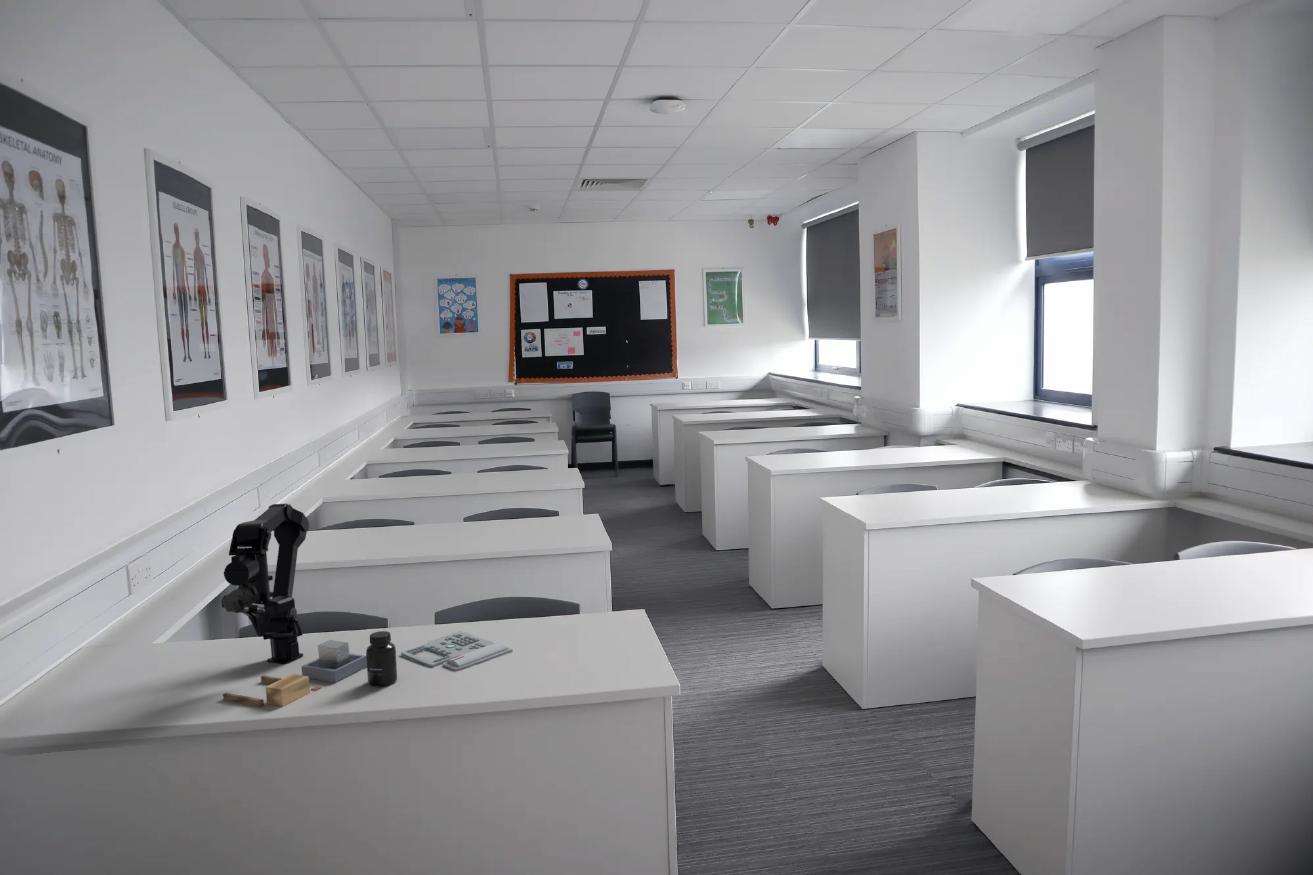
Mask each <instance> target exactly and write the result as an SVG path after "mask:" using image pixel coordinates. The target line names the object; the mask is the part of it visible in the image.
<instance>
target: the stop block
mask: <svg viewBox="0 0 1313 875" xmlns="http://www.w3.org/2000/svg"><path fill="white" fill-rule="evenodd" d="M317 651H318V658H319V664H320V668H326V669H333V670H336V669H338V668H340V667H342V666H344V665H346V664H348V663H350V659H349V653H350V648H349V642H346V641H339V640H333V639H329V640H327V641H325V642H322V643H320V644H318V645H317Z"/></svg>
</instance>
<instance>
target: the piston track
mask: <svg viewBox="0 0 1313 875" xmlns="http://www.w3.org/2000/svg"><path fill="white" fill-rule="evenodd" d="M281 679H283V678H281V677H275V676H268V675H264V674H263V675H262V676H260V682H261V684H262V683H263V684H264V683H265V684H268V685H270V684H272V683H275V682H277V681H279V680H281ZM321 689H322V687H321V686H314V687H313V688H310V691H314V690H315V691H316V692H317V691H320V690H321ZM222 697H223V698H222V699H223V701H227V702H233V703H239V704H242V705H243V704H244V705H249V706H253V707H254V706H255V707H260V708H262V707H264V706H265V703H264V700H265V699H263V698H258V697H252V696H247V695H246V696H245V695H241V694H236V693H229V692H224V693H222Z"/></svg>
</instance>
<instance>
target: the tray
mask: <svg viewBox="0 0 1313 875" xmlns="http://www.w3.org/2000/svg"><path fill="white" fill-rule="evenodd" d="M349 659H350V663H348V664H346V665H344V666H342V667H340V668H338V669H336V670H333V669H326V668H320V664H319V657H318V658H316V659H314V660H312V661H310V662H307V663H305V664H303V665H301V667H300V668H301V675H303V676H309V680H314V681H321V682H327V683H332V684H333V683H334V684H337V683H339V682H341V681H343V680H344V679H347V678H349V677H352V676H353V675H355V674H356V673H359V672H361V671H362V669H363V670H364V669H367V659H366V654H365V655H363V654H357V653H356V654H355V653H350V652H349ZM358 671H359V672H358Z"/></svg>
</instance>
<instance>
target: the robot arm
mask: <svg viewBox="0 0 1313 875" xmlns="http://www.w3.org/2000/svg"><path fill="white" fill-rule="evenodd" d="M309 528H310V522H309V519H308V517H307V516H306V514H304V512H302V511H300V510H297V509H295V508H294V507H292V505H291V504H289V503H273V504H270V505H269V506H268V508H267V509H266V510H265V511H263V512H262V513H261V514H260V515H259V516H258V517H256V518H254V520H253V519H252V520H249V521H244V522H241V523H238V524H237V525H236V526H235V529H233V532H232V537H231V540H230V541H231V542H230V546H229V550H228V551H229V552H228V556H231V557H230V559H231V560H230V561H231V562H230V563H228V564H227V565H226V566H225V567H224V571H223V577H224V579H225V581H226V582H227V583H228V584H230V585H232V586H237V588H236V589H234V590H233V591H231V592H229V593H228V594H225V595H223V597H222V598H221V608H225V611H226V612H228V613H230V612H232V613H235V614H238V613H241V614H243V615H245V616H246V617H247V618H248V619H249V621H250V622H251V624H252V626H253V628H254V630H255V632H256V634H257V636H258V637H262V638H263V640H269V641H270V642H269V644H270V651H271V652H270V653H271V657H269V658H267V660H266V661H267V662H269V663H275V664H276V663H277V664H282V665H283V664H284V665H287V664H288V663H290V662H293V661H294V660H298V659H300V658H301V657H304V653H301V652H300V647H299V641H298V638H299V637H301V636H303V635H304V634H303V631H304V624H303V623H302V621H301V620H300V618H299V617H298V610H297V609H296V601H295V598H294V597H293V591H294V585H295V575H296V567H297V560H298V559H297V558H298V552H299V548H300V547H301V545H303V543H304V541H306V538H307V534H308V533H307V532H308V531H309ZM272 532H273V537H274V539H275V540H276V542H277V544H278V550H277V557H276V558H277V560H276V566H275V567H276V568H275V573H274V577H273V575H269V566H268V556H267V555H268V554H267V552H268V551H269V544H270V541H271V539H272ZM271 581H274V582H273V589H272V591H271V587H270V586H271V585H270V582H271Z"/></svg>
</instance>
